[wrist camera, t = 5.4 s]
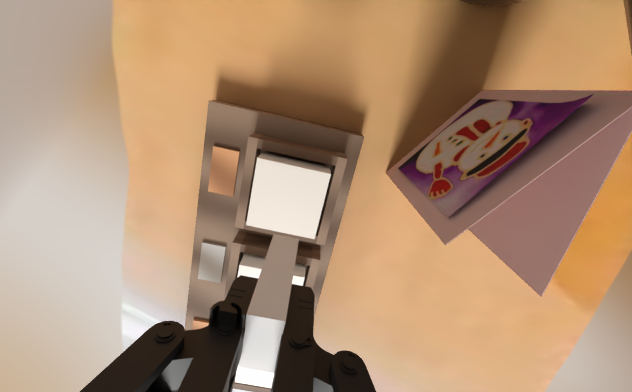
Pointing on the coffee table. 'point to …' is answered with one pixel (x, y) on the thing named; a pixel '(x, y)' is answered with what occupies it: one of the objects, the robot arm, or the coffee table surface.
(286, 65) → the coffee table surface
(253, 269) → the button middle
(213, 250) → the button board
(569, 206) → the greeting card
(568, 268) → the coffee table surface
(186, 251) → the coffee table surface
